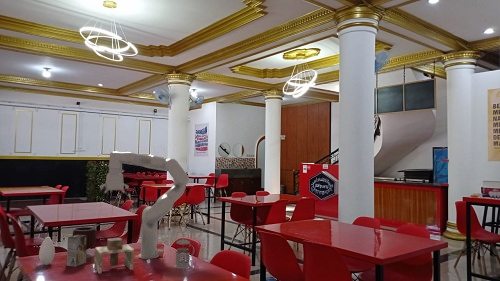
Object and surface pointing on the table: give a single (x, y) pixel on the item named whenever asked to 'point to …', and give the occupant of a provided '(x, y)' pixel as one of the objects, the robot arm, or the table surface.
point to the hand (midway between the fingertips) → (114, 199)
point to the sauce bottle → (47, 251)
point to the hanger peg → (114, 245)
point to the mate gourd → (90, 237)
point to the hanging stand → (104, 250)
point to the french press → (183, 254)
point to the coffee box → (76, 250)
